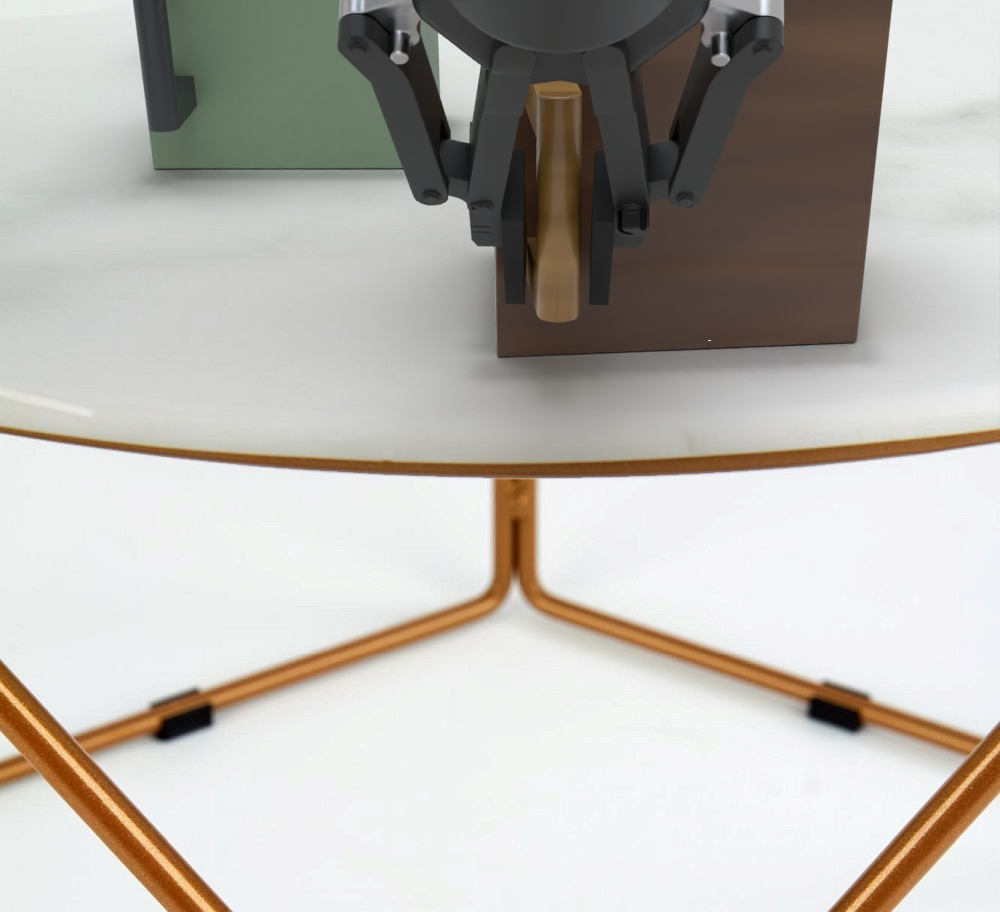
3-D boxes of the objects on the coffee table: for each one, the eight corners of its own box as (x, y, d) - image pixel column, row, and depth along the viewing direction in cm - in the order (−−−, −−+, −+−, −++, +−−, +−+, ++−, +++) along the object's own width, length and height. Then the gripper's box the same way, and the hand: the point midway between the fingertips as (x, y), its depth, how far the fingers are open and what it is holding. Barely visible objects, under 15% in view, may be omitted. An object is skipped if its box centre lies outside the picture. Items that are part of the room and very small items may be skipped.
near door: (891, 392, 66) (940, -16, 58) (507, 408, 65) (502, -3, 57) (852, 335, 71) (892, -47, 63) (495, 350, 70) (489, -35, 62)
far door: (414, 197, 88) (402, -116, 80) (131, 197, 89) (90, -113, 81) (424, 164, 93) (413, -133, 85) (156, 165, 94) (120, -130, 86)
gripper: (245, -32, 43) (352, 359, 66) (876, -27, 42) (760, 366, 65) (262, -293, 44) (361, 180, 67) (872, -291, 43) (760, 185, 67)
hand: (557, 271), depth 66 cm, fingers open, 2 cm apart
